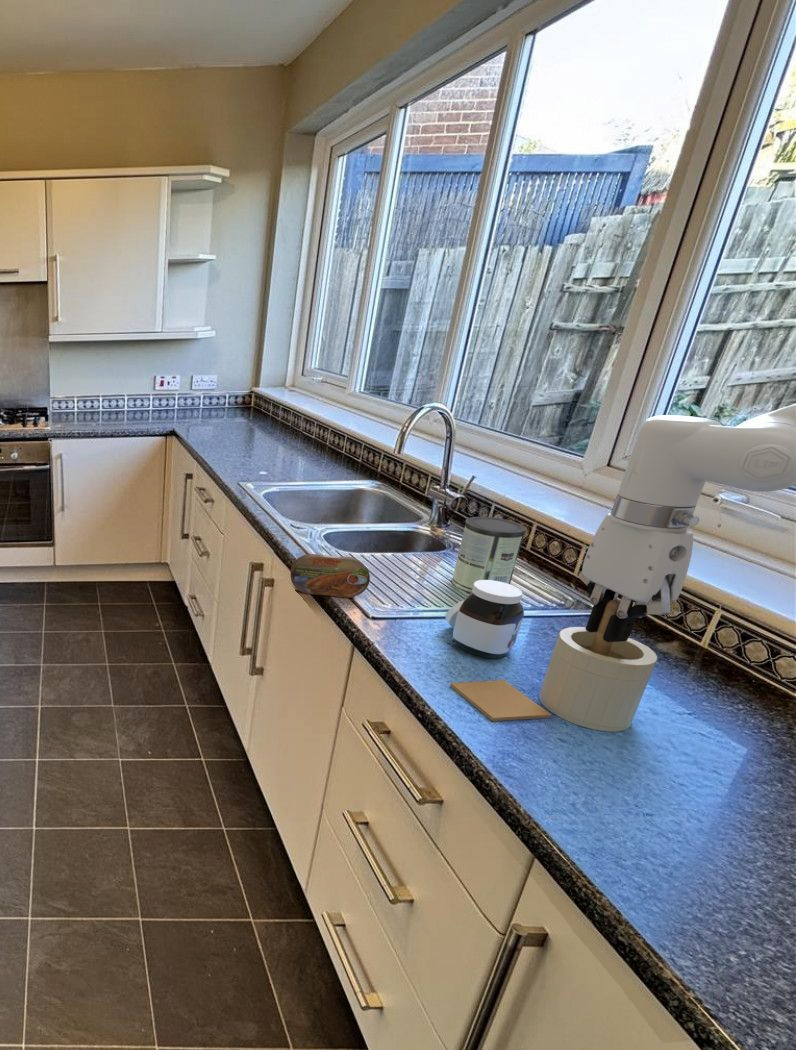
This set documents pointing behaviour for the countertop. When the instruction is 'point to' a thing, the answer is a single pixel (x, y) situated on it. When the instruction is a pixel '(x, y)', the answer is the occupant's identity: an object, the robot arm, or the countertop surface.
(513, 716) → the mat
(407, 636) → the countertop surface
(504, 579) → the coffee can
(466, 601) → the spread jar
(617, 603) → the round handled stamp
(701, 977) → the countertop surface
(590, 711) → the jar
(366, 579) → the tin
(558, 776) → the countertop surface
